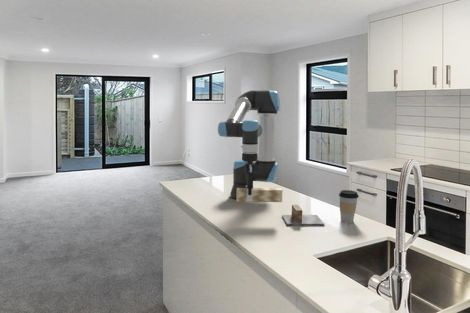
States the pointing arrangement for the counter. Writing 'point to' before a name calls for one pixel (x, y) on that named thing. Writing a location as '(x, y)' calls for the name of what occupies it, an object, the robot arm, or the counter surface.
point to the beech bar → (260, 195)
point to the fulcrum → (301, 218)
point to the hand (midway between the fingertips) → (248, 199)
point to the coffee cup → (348, 205)
